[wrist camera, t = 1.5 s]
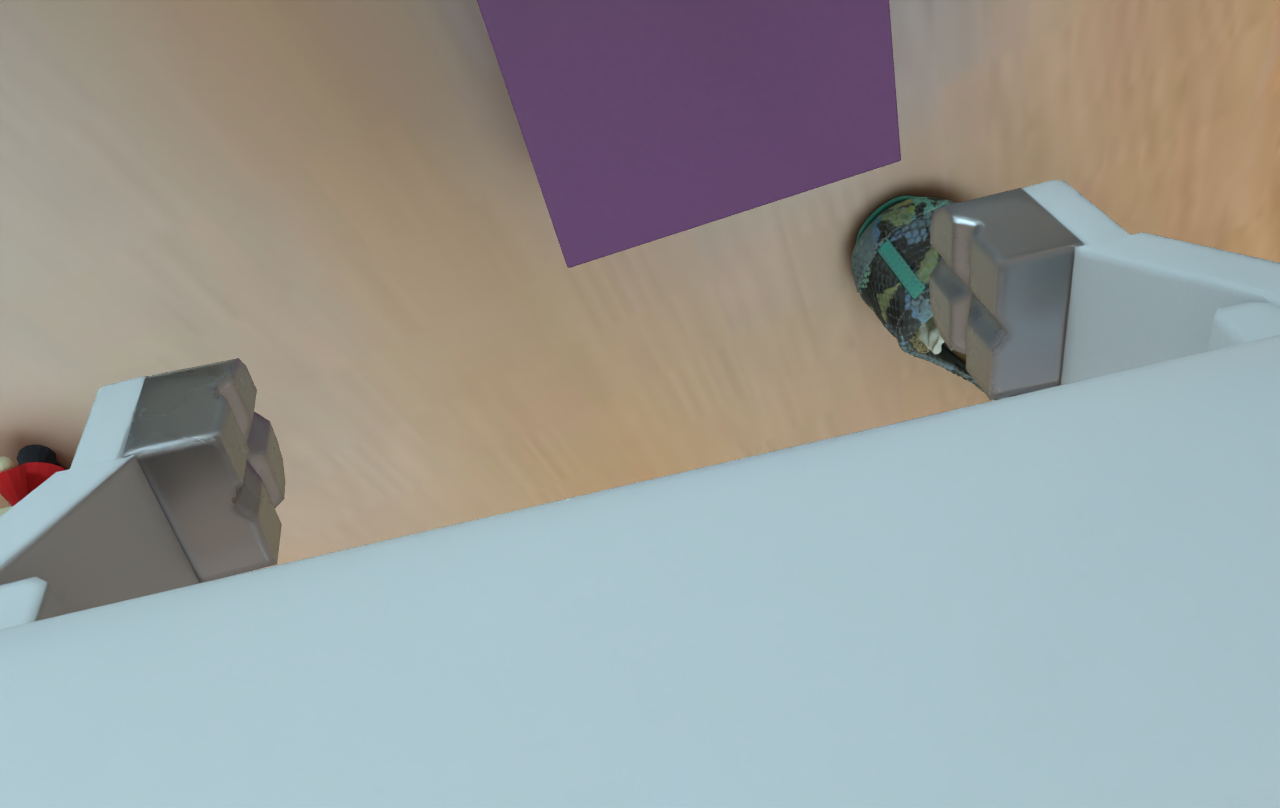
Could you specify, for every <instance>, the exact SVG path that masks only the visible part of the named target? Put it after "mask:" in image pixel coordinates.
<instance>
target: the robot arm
mask: <svg viewBox="0 0 1280 808" xmlns="http://www.w3.org/2000/svg"><path fill="white" fill-rule="evenodd" d="M930 244H931V245H932V246H933V247H934V248H935V250H936V251H937V252H938V253H939V254H940V255H941V257H942V258H941V259H940V261H939V262H938V264H937V265H936V267H935V268H934V270H933V271H932V273H931V274H930V276H929V292H930V305H931V309H932V314H933V318H934V323H935V325H936V327H937V329H938V331H939V334H940V336H941V337H942V339H943V340H944V341H945V343H946V344H947V345H948V347H949V348H950V349H953V350H955V351H958V352H961V353H964V354H966V370H967V371H968V373H969V374H970V375H971V376H972V378H973V379H974V380H975V381H976V383H977V384H978V385H979V386H980V388H981V389H982V390H983V391H984V393H985V394H986V395H987V396H988V398H989V399H990V400H993V399H998V398H1003V397H1008V396H1012V397H1008V398H1003V399H999V400H994V401H990V402H986V403H981V404H977V405H973V406H968V407H964V408H960V409H955V410H951V411H947V412H942V413H938V414H934V415H929V416H925V417H921V418H916V419H912V420H908V421H903V422H899V423H895V424H890V425H886V426H882V427H877V428H873V429H869V430H864V431H860V432H856V433H851V434H847V435H843V436H838V437H834V438H830V439H825V440H821V441H817V442H812V443H808V444H804V445H799V446H795V447H791V448H786V449H782V450H777V451H773V452H769V453H764V454H760V455H756V456H751V457H747V458H743V459H738V460H734V461H730V462H725V463H721V464H717V465H712V466H708V467H703V468H699V469H695V470H690V471H686V472H682V473H677V474H673V475H669V476H664V477H660V478H656V479H651V480H647V481H642V482H638V483H634V484H629V485H625V486H621V487H616V488H612V489H608V490H603V491H599V492H595V493H590V494H586V495H582V496H577V497H573V498H568V499H564V500H560V501H555V502H551V503H547V504H542V505H538V506H534V507H529V508H525V509H521V510H516V511H512V512H507V513H503V514H499V515H494V516H490V517H486V518H481V519H477V520H473V521H468V522H464V523H460V524H455V525H451V526H446V527H442V528H438V529H433V530H429V531H425V532H420V533H416V534H412V535H407V536H403V537H399V538H394V539H390V540H386V541H381V542H377V543H372V544H368V545H364V546H359V547H355V548H351V549H346V550H342V551H338V552H333V553H329V554H325V555H320V556H316V557H311V558H307V559H303V560H298V561H294V562H290V563H285V564H281V565H277V566H272V567H268V568H264V569H260V568H263V567H267V566H271V565H275V564H277V561H278V552H279V543H280V533H281V522H280V520H279V517H278V515H277V513H276V510H275V508H276V507H277V506H278V505H279V504H280V503H281V502H282V500H283V499H284V494H285V475H284V467H283V459H282V455H281V452H280V448H279V445H278V441H277V438H276V436H275V433H274V431H273V428H272V426H271V423H270V421H268V420H267V419H265V418H264V417H262V416H260V415H259V414H257V413H256V412H254V407H255V399H256V392H257V389H256V387H255V385H254V383H253V380H252V378H251V376H250V374H249V371H248V369H247V367H246V365H245V364H244V363H243V362H242V361H241V360H240V359H239V358H237V359H232V360H227V361H222V362H217V363H212V364H207V365H202V366H197V367H192V368H186V369H181V370H176V371H171V372H166V373H161V374H156V375H152V376H150V377H149V376H142V377H138V378H134V379H130V380H126V381H122V382H117V383H113V384H109V385H106V386H104V387H101V388H100V389H99V390H98V393H97V395H96V398H95V401H94V404H93V406H92V409H91V412H90V415H89V417H88V420H87V423H86V426H85V428H84V431H83V434H82V437H81V439H80V442H79V445H78V448H77V451H76V453H75V456H74V459H73V462H72V464H71V467H70V469H68V470H64V471H59V472H56V473H55V474H53V475H52V476H51V477H50V478H48V479H47V480H46V481H44V482H43V483H42V484H41V485H39V486H38V487H37V488H36V489H34V490H33V491H32V492H31V493H29V494H28V495H27V496H26V497H24V498H23V499H22V500H21V501H19V502H18V503H17V504H16V505H14V506H13V507H12V508H10V509H9V510H8V511H7V512H5V513H4V514H3V515H2V516H0V808H1280V263H1278V262H1273V261H1269V260H1264V259H1260V258H1255V257H1251V256H1246V255H1242V254H1237V253H1233V252H1229V251H1224V250H1220V249H1215V248H1211V247H1206V246H1202V245H1197V244H1193V243H1188V242H1184V241H1179V240H1175V239H1171V238H1166V237H1162V236H1157V235H1153V234H1148V233H1144V232H1143V233H1138V234H1133V235H1130V234H1129V233H1128V232H1126V231H1125V230H1124V229H1123V228H1121V227H1120V226H1119V225H1118V224H1117V223H1115V222H1114V221H1113V220H1112V219H1110V218H1109V217H1108V216H1107V215H1106V214H1104V213H1103V212H1102V211H1101V210H1099V209H1098V208H1097V207H1096V206H1094V205H1093V204H1092V203H1091V202H1090V201H1088V200H1087V199H1086V198H1085V197H1083V196H1082V195H1081V194H1080V193H1079V192H1077V191H1076V190H1075V189H1074V188H1072V187H1071V186H1070V185H1069V184H1067V183H1066V182H1065V181H1061V180H1051V181H1047V182H1043V183H1039V184H1036V185H1032V186H1028V187H1024V188H1018V189H1014V190H1010V191H1006V192H1002V193H998V194H993V195H989V196H985V197H981V198H977V199H973V200H969V201H964V202H960V203H956V204H952V205H948V206H944V207H941V208H938V209H936V210H934V212H933V216H932V220H931V225H930ZM1037 390H1038V391H1037ZM1032 391H1034V392H1032ZM1027 392H1029V393H1027ZM1023 393H1025V394H1023ZM1018 394H1021V395H1018ZM1013 395H1016V396H1013ZM256 569H259V570H256ZM252 570H255V571H252ZM248 571H251V572H248ZM244 572H246V573H244ZM240 573H242V574H240ZM236 574H238V575H236ZM232 575H233V576H232ZM228 576H229V577H228Z"/></svg>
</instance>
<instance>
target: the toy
mask: <svg viewBox="0 0 1280 808" xmlns="http://www.w3.org/2000/svg"><path fill="white" fill-rule="evenodd" d="M17 460H18V463H19V466H17V467H15V464H14V462H13V461H12V460H11V459H10V458H7V457H0V494H1V495H2V496H3V497H4V498H5V499H6V500H7V501H8V502H9V504H10V507H5V508H1V509H0V516H2V515H3V514H4V513H5V512H7V511H8V510H9V509H10V508H12V507H13V506H14V505H16V504H17V503H18V502H19V501H21V500H22V499H23V498H24V497H26V496H27V495H28V494H29V493H31V492H32V491H33V490H34V489H36V488H37V487H38V486H39V485H41V484H42V483H43V482H44V481H46V480H47V479H48V478H50V477H51V476H52V475H53V474H55V473H56V472H59V471H64V470H68V469H66V468H64V467H63V466H61V465H60V464H59V463H57V461H56V456H55V453H54V452H53V451H52V450H50V449H49V448H47V447H44V446H41V445H31V446H27V447H25V448H23V449H21V450H20V452H19V454H18V457H17Z"/></svg>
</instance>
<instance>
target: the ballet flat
mask: <svg viewBox="0 0 1280 808" xmlns="http://www.w3.org/2000/svg"><path fill="white" fill-rule="evenodd" d="M956 203H957V202H953V201H951V200H950V199H943V198H935V197H915V196H900V197H896V198H894V199H891V200H889V201H888V202H886V203H884V204H883V205H881V206H880V207H879V208H877V209H876V210H875V211H874V212H873V213H872V214H871V215H870V216H869V217H868V218H867V219H866V221H865V222H864V223H863V225H862V226H861V228H860V230H859V232H858V235H857V239H856V244H855V246H854V249H853V252H852V256H851V265H852V273H853V276H854V280H855V285H856V287H857V292H858V293H860V295H861V297H862V299H863V300H864V301H865V302H866V303H867V305H868V306H869V307H870V308H871V309H872V310H873V311H874V312H875V314H876V315H877V317H878V318H879V319H880V321H881V322H882V324H883V325H884V326H885V327H886V328H887V329H888V331H889V332H890V333H891V334H892V335H893V336H894V337H896V338H897V340H898V343H899V346H900V348H901V349H902V350H903V351H904V352H907V353H909V354H911V355H913V356H914V357H918V358H921V359H924V360H927V361H930V362H932V363H934V364H937V365H939V366H941V367H943V368H945V369H946V370H948V371H951V372H952V373H953V374H957V375H958V376H961V377H963V378H964V379H965V380H968V381H969V382H972V383H973V384H975V385H976V386H977V387H978V388H979V389H981V388H980V386H979V385H978V384H977V383H976V381H975V380H974V379H973V378H972V376H971V375H970V374H969V373H968V371H967V370H966V354H964V353H961V352H958V351H955V350H953V349H950V348H949V347H948V345H947V344H946V343H945V341H944V340H943V339H942V337H941V336H940V334H939V331H938V329H937V327H936V325H935V323H934V318H933V314H932V309H931V305H930V292H929V276H930V274H931V273H932V271H933V270H934V268H935V267H936V265H937V264H938V262H939V261H940V259H941V258H942V257H941V255H940V254H939V253H938V252H937V251H936V250H935V248H934V247H933V246H932V245H931V244H930V225H931V220H932V216H933V212H934V210H936V209H938V208H941V207H944V206H948V205H952V204H956ZM981 390H982V389H981ZM982 391H983V390H982ZM1037 391H1038V390H1037ZM983 392H984V391H983ZM1032 392H1034V391H1032ZM1027 393H1029V392H1027ZM1023 394H1025V393H1023ZM1018 395H1021V394H1018ZM1013 396H1016V395H1013ZM1008 397H1012V396H1008ZM1008 397H1003V398H1008ZM1003 398H998V399H995V400H999V399H1003Z"/></svg>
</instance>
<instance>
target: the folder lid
mask: <svg viewBox="0 0 1280 808" xmlns="http://www.w3.org/2000/svg"><path fill="white" fill-rule="evenodd" d="M477 2H478V5H479V8H480V11H481V14H482V17H483V20H484V22H485V25H486V28H487V31H488V34H489V37H490V40H491V43H492V46H493V49H494V52H495V55H496V58H497V61H498V64H499V67H500V70H501V73H502V76H503V79H504V81H505V84H506V87H507V90H508V93H509V96H510V99H511V102H512V105H513V108H514V111H515V114H516V117H517V120H518V123H519V126H520V129H521V132H522V135H523V138H524V140H525V143H526V146H527V149H528V152H529V155H530V158H531V161H532V164H533V167H534V170H535V173H536V176H537V179H538V182H539V185H540V188H541V191H542V194H543V197H544V199H545V202H546V205H547V208H548V211H549V214H550V217H551V220H552V223H553V226H554V229H555V232H556V235H557V238H558V241H559V244H560V247H561V250H562V253H563V256H564V258H565V261H566V264H567V267H568V268H570V267H573V266H577V265H580V264H583V263H586V262H589V261H592V260H595V259H598V258H601V257H604V256H607V255H611V254H614V253H617V252H620V251H623V250H626V249H629V248H632V247H635V246H638V245H641V244H644V243H648V242H651V241H654V240H657V239H660V238H663V237H666V236H669V235H672V234H675V233H678V232H682V231H685V230H688V229H691V228H694V227H697V226H700V225H703V224H706V223H709V222H712V221H716V220H719V219H722V218H725V217H728V216H731V215H734V214H737V213H740V212H743V211H746V210H749V209H753V208H756V207H759V206H762V205H765V204H768V203H771V202H774V201H777V200H780V199H783V198H787V197H790V196H793V195H796V194H799V193H802V192H805V191H808V190H811V189H814V188H817V187H821V186H824V185H827V184H830V183H833V182H836V181H839V180H842V179H845V178H848V177H851V176H854V175H858V174H861V173H864V172H867V171H870V170H873V169H876V168H879V167H882V166H885V165H888V164H892V163H895V162H898V161H900V160H901V154H900V141H899V128H898V115H897V102H896V88H895V75H894V62H893V49H892V36H891V22H890V9H889V0H477Z"/></svg>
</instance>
